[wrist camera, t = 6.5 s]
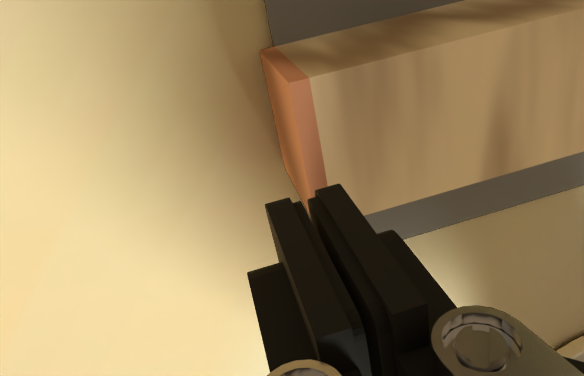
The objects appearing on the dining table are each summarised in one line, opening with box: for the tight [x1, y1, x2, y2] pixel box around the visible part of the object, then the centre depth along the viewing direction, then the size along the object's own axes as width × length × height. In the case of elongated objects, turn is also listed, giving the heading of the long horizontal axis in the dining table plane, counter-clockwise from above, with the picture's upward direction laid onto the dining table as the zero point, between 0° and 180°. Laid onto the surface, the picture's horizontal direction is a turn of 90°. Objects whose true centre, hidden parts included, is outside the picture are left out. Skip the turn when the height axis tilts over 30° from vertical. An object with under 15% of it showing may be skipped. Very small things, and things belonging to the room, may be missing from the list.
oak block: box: [259, 0, 584, 216], centre depth 17 cm, size 5×5×12 cm
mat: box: [264, 0, 584, 240], centre depth 20 cm, size 20×16×1 cm
